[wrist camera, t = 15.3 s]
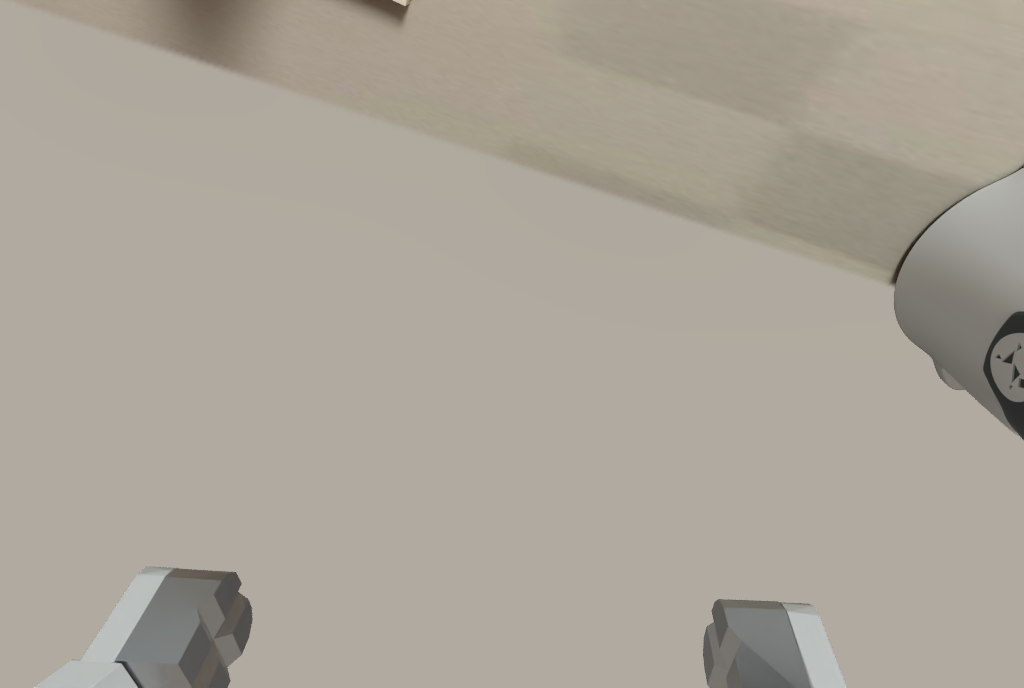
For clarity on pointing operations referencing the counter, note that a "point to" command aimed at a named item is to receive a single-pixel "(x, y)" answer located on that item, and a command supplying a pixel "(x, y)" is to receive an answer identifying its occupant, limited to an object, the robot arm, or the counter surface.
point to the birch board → (403, 2)
